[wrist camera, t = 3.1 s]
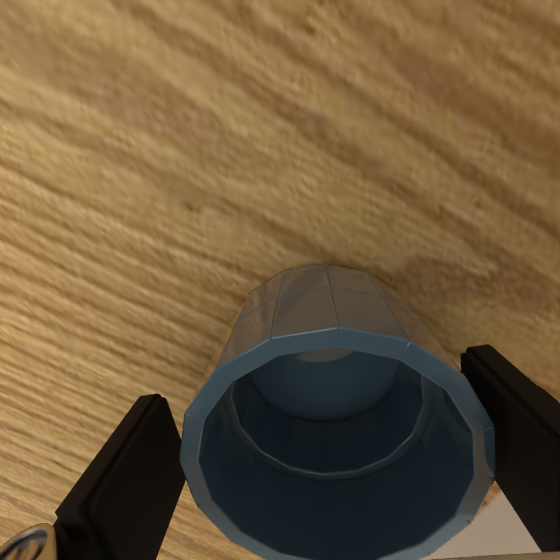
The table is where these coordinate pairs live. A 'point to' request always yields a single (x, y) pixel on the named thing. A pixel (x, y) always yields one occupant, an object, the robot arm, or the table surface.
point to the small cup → (335, 426)
